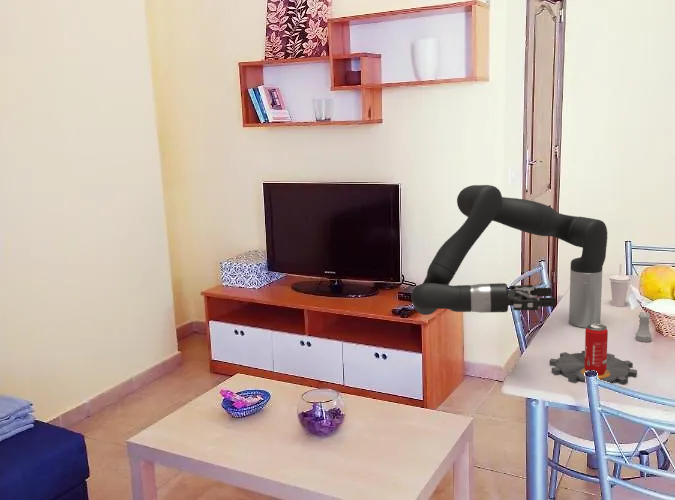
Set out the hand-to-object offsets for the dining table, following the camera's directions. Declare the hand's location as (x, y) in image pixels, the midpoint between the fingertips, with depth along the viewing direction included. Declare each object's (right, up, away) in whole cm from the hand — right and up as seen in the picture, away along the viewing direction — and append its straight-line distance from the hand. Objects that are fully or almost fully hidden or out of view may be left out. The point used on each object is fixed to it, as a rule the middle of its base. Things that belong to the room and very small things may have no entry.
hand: (553, 296), depth 175 cm
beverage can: (+10, -19, -3) cm, 22 cm away
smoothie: (+39, -7, +54) cm, 67 cm away
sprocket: (+11, -19, +2) cm, 22 cm away
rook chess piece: (+33, -14, +22) cm, 42 cm away
